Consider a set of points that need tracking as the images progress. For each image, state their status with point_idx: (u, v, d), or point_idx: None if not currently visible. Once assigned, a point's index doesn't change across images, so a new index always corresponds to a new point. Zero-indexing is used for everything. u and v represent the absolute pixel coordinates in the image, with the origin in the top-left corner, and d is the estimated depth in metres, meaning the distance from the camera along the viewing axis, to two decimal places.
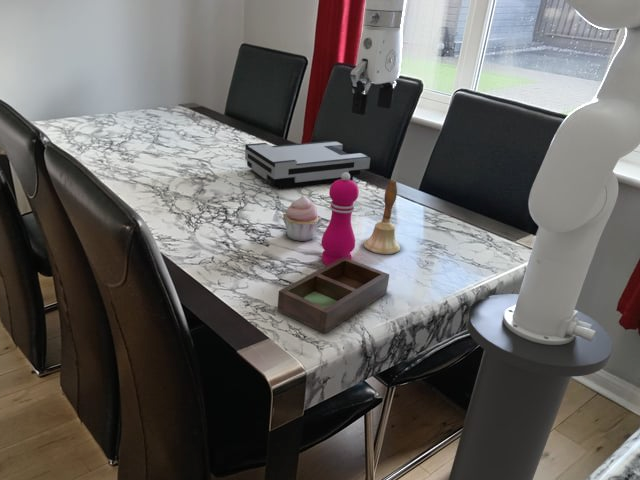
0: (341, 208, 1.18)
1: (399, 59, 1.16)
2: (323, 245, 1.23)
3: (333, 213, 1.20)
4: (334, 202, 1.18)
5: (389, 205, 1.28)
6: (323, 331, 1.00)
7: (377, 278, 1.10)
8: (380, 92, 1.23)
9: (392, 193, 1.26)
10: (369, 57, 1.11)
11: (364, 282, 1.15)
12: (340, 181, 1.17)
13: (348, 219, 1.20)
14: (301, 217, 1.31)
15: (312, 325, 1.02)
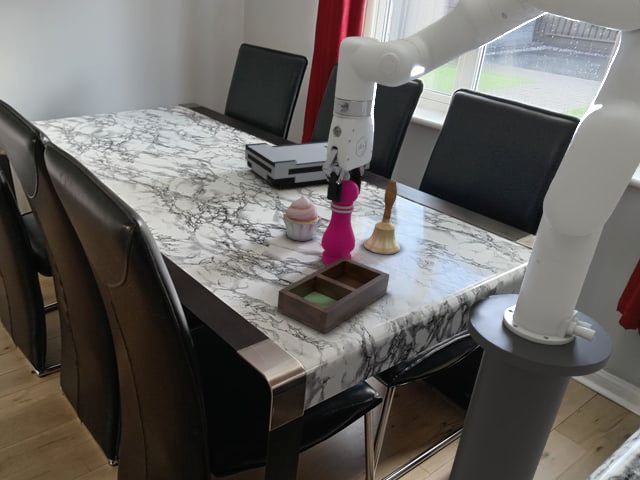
0: (341, 208, 1.18)
1: (371, 143, 1.14)
2: (323, 245, 1.23)
3: (333, 213, 1.20)
4: (334, 202, 1.18)
5: (389, 205, 1.28)
6: (323, 331, 1.00)
7: (377, 278, 1.10)
8: None
9: (392, 193, 1.26)
10: (339, 145, 1.09)
11: (364, 282, 1.15)
12: None
13: (348, 219, 1.20)
14: (301, 217, 1.31)
15: (312, 325, 1.02)
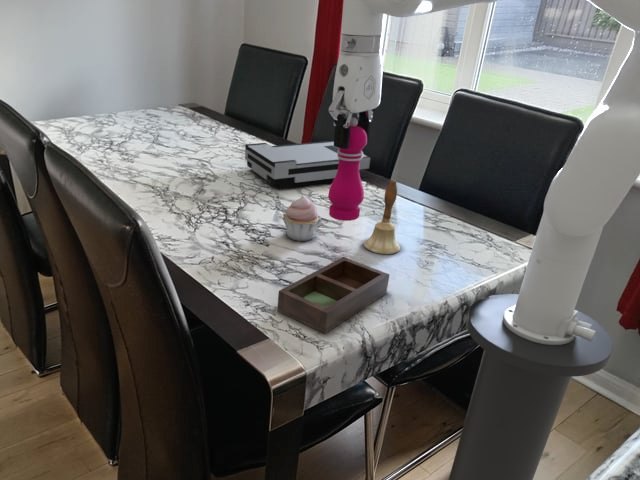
0: (349, 156, 1.12)
1: (379, 85, 1.09)
2: (330, 197, 1.17)
3: (340, 162, 1.14)
4: (341, 150, 1.12)
5: (389, 205, 1.28)
6: (323, 331, 1.00)
7: (377, 278, 1.10)
8: (356, 125, 1.14)
9: (392, 193, 1.26)
10: (346, 85, 1.03)
11: (364, 282, 1.15)
12: None
13: (356, 168, 1.14)
14: (301, 217, 1.31)
15: (312, 325, 1.02)
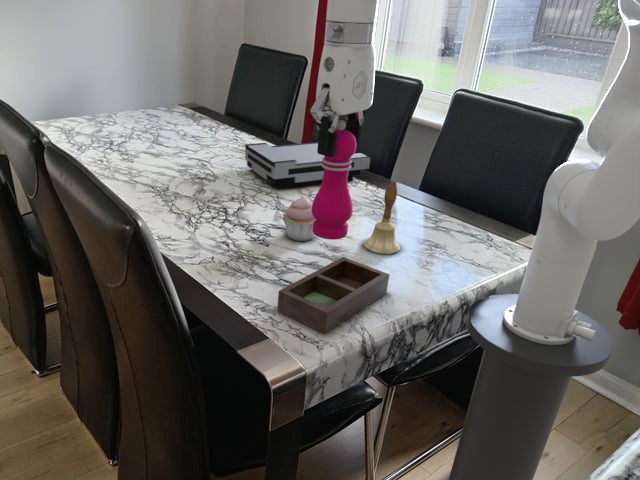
0: (335, 165, 0.95)
1: (371, 83, 0.92)
2: (313, 212, 1.00)
3: (325, 172, 0.97)
4: (326, 158, 0.96)
5: (389, 205, 1.28)
6: (323, 331, 1.00)
7: (377, 278, 1.10)
8: (344, 129, 0.98)
9: (392, 193, 1.26)
10: (331, 81, 0.87)
11: (364, 282, 1.15)
12: None
13: (344, 179, 0.97)
14: (301, 217, 1.31)
15: (312, 325, 1.02)
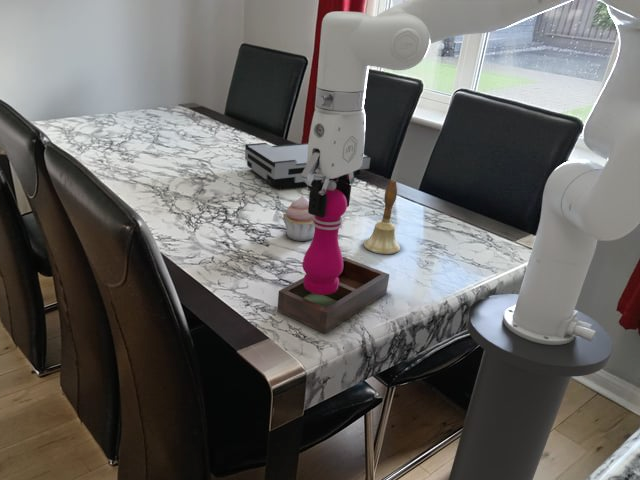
0: (326, 224, 0.96)
1: (362, 145, 0.93)
2: (304, 268, 1.01)
3: (316, 230, 0.98)
4: (317, 216, 0.97)
5: (389, 204, 1.28)
6: (323, 331, 1.00)
7: (377, 278, 1.10)
8: None
9: (392, 193, 1.26)
10: (322, 147, 0.88)
11: (364, 282, 1.15)
12: None
13: (334, 237, 0.98)
14: (301, 217, 1.31)
15: (312, 325, 1.02)
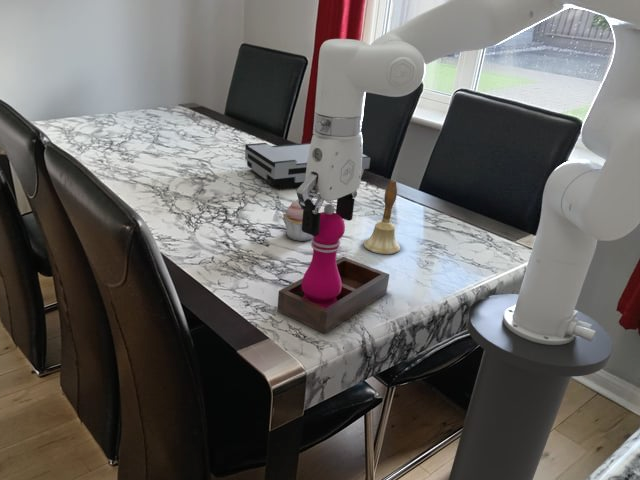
0: (324, 247, 0.98)
1: (359, 167, 0.95)
2: (303, 289, 1.03)
3: (315, 252, 1.00)
4: (316, 239, 0.99)
5: (389, 205, 1.28)
6: (323, 331, 1.00)
7: (377, 278, 1.10)
8: (338, 201, 1.01)
9: (392, 193, 1.26)
10: (320, 171, 0.90)
11: (364, 282, 1.15)
12: (322, 215, 0.97)
13: (332, 259, 1.00)
14: (301, 217, 1.31)
15: (312, 325, 1.02)
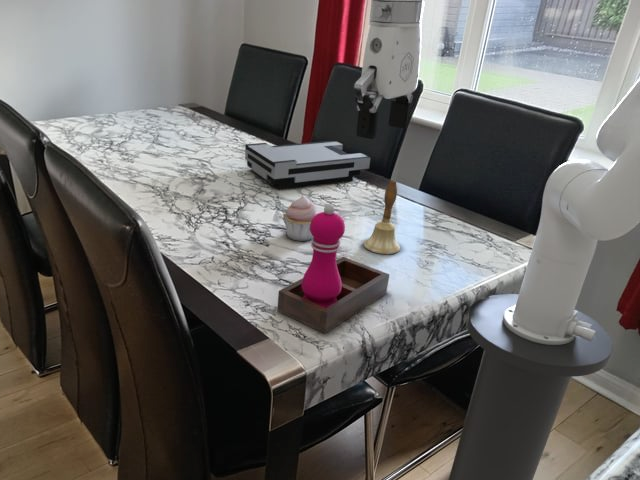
0: (324, 247, 0.98)
1: (417, 65, 0.89)
2: (303, 289, 1.03)
3: (315, 252, 1.00)
4: (316, 239, 0.99)
5: (389, 205, 1.28)
6: (323, 331, 1.00)
7: (377, 278, 1.10)
8: (392, 107, 0.95)
9: (392, 193, 1.26)
10: (379, 63, 0.84)
11: (364, 282, 1.15)
12: (322, 215, 0.97)
13: (332, 259, 1.00)
14: (301, 217, 1.31)
15: (312, 325, 1.02)
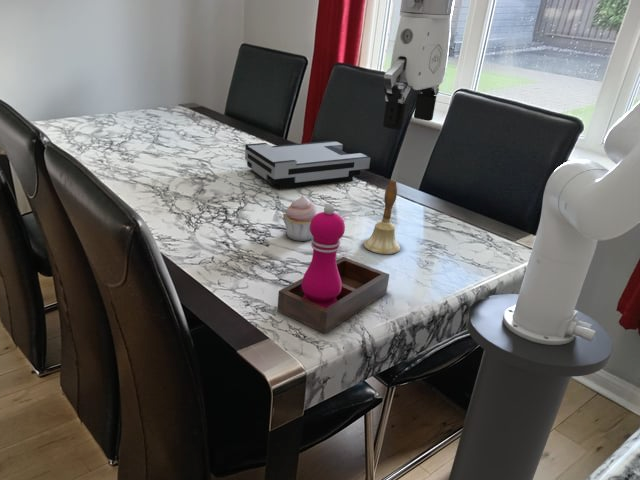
0: (324, 247, 0.98)
1: (445, 57, 0.89)
2: (303, 289, 1.03)
3: (315, 252, 1.00)
4: (315, 239, 0.99)
5: (389, 205, 1.28)
6: (323, 331, 1.00)
7: (377, 278, 1.10)
8: (418, 100, 0.95)
9: (392, 193, 1.26)
10: (409, 54, 0.84)
11: (364, 282, 1.15)
12: (322, 215, 0.97)
13: (332, 259, 1.00)
14: (301, 217, 1.31)
15: (312, 325, 1.02)
